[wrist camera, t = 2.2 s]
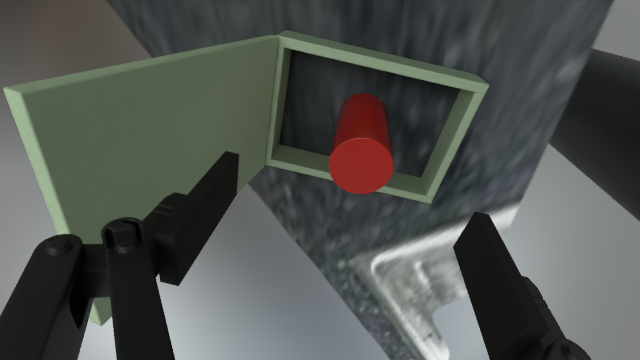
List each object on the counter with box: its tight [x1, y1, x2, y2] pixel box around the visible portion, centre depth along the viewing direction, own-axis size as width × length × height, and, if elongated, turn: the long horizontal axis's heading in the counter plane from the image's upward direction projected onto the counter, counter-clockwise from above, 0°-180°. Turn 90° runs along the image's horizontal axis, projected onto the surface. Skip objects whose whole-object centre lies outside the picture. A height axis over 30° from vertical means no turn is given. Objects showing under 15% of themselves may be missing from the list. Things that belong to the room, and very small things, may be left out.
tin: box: [329, 93, 394, 194], centre depth 30 cm, size 5×5×12 cm
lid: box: [4, 35, 278, 326], centre depth 23 cm, size 21×14×1 cm
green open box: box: [265, 30, 489, 204], centre depth 33 cm, size 20×14×5 cm
